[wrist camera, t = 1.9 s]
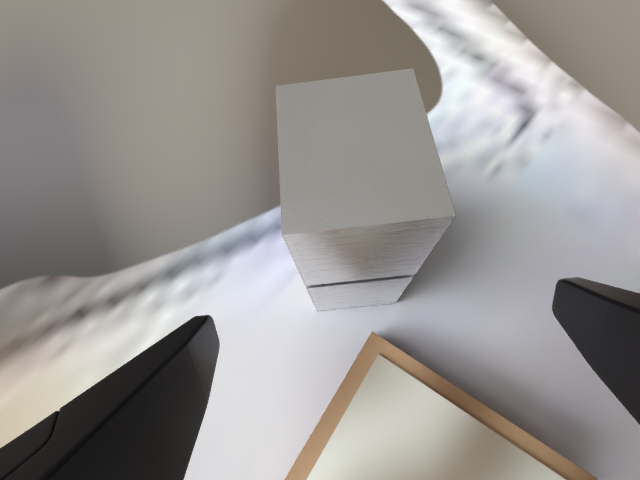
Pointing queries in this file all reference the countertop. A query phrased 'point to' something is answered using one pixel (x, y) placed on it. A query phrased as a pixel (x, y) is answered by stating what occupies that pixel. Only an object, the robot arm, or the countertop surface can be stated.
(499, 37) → the countertop surface
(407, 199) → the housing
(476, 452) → the stand
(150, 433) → the robot arm
